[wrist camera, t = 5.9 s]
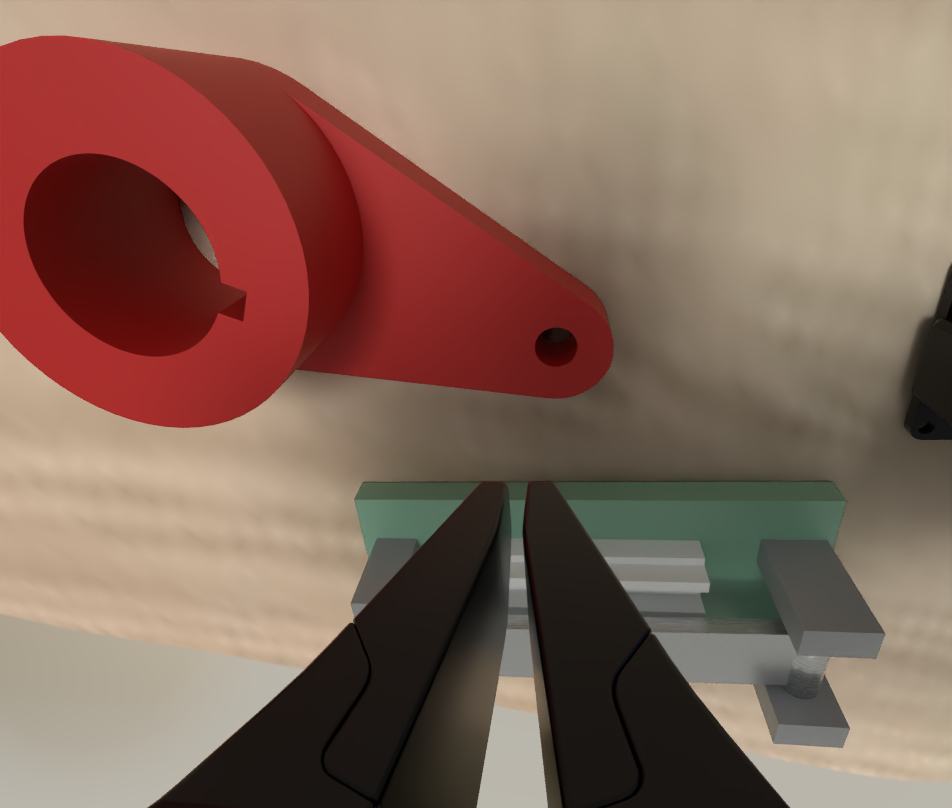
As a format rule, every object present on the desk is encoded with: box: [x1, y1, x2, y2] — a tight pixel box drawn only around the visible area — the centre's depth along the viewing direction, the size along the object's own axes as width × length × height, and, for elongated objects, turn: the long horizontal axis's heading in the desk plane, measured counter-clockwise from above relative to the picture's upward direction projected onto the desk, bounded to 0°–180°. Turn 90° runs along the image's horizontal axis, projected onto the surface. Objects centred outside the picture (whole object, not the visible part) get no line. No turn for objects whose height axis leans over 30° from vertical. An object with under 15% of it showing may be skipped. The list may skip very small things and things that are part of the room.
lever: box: [0, 36, 613, 428], centre depth 17 cm, size 18×9×7 cm, turn 72°
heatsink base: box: [351, 482, 885, 748], centre depth 23 cm, size 19×10×6 cm, turn 95°
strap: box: [499, 614, 830, 700], centre depth 22 cm, size 18×3×2 cm, turn 95°
